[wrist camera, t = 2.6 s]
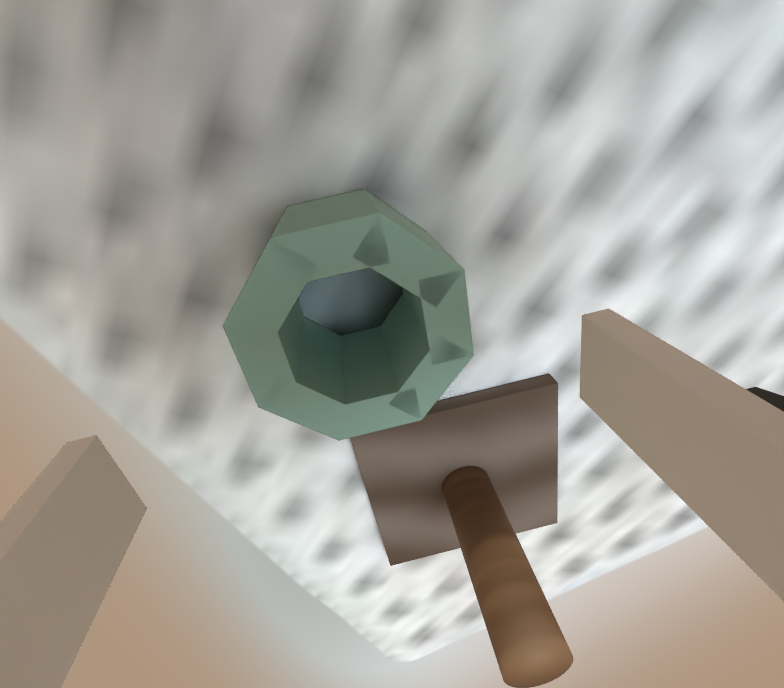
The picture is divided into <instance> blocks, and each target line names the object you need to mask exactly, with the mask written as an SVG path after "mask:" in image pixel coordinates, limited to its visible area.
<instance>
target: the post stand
mask: <svg viewBox="0 0 784 688" xmlns="http://www.w3.org/2000/svg"><path fill="white" fill-rule="evenodd" d="M350 440H351V443H352V446H353V449H354V452H355V455H356V459H357V462H358V465H359V468H360V471H361V474H362V477H363V481H364V484H365V487H366V490H367V493H368V496H369V500H370V503H371V506H372V509H373V512H374V515H375V518H376V522H377V525H378V528H379V531H380V534H381V537H382V541H383V544H384V547H385V550H386V553H387V556H388V559H389V563H390V566H392V565H396V564H399V563H403V562H407V561H411V560H415V559H419V558H423V557H427V556H430V555H434V554H438V553H442V552H446V551H450V550H454V549H458V548H461V550H462V553H463V556H464V559H465V562H466V565H467V568H468V571H469V575H470V578H471V581H472V584H473V587H474V590H475V593H476V596H477V599H478V602H479V606H480V609H481V612H482V615H483V618H484V621H485V624H486V627H487V630H488V634H489V637H490V640H491V643H492V646H493V649H494V652H495V655H496V658H497V661H498V664H499V668H500V671H501V674H502V676H503V680H504V682H505V683H506V684H507V685H509V686H512V687H516V688H529V687H535V686H539V685H542V684H545V683H548V682H550V681H552V680H554V679H556V678H558V677H559V676H561V675H562V674H564V673H565V672H566V671H567V670H568V669H569V668H570V666H571V665H572V662H573V655H572V653H571V651H570V649H569V647H568V645H567V642H566V640H565V638H564V636H563V634H562V632H561V630H560V628H559V625H558V623H557V621H556V619H555V617H554V615H553V613H552V610H551V608H550V606H549V604H548V602H547V600H546V598H545V596H544V593H543V591H542V589H541V587H540V585H539V583H538V581H537V579H536V576H535V574H534V572H533V570H532V568H531V566H530V564H529V561H528V559H527V557H526V555H525V553H524V551H523V549H522V547H521V544H520V542H519V540H518V538H517V536H516V533H520V532H524V531H527V530H531V529H535V528H539V527H543V526H547V525H551V524H555V523H557V479H558V383H557V382H556V380H555V379H554V378H553V377H552V376H551V375H550V374H547V375H543V376H539V377H535V378H530V379H526V380H522V381H518V382H514V383H510V384H506V385H502V386H498V387H494V388H490V389H486V390H481V391H477V392H473V393H469V394H465V395H461V396H457V397H453V398H449V399H445V400H441V401H437V402H436V403H435V404H434V405H433V406H432V408H431V409H430V410H429V411H428V413H427V414H426V415H425V416H424V418H423V419H422V420H420V421H416V422H412V423H408V424H404V425H399V426H395V427H391V428H387V429H383V430H379V431H375V432H371V433H367V434H363V435H359V436H355V437H351V438H350Z"/></svg>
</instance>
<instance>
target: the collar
mask: <svg viewBox="0 0 784 688" xmlns="http://www.w3.org/2000/svg"><path fill="white" fill-rule="evenodd" d="M365 268H372V269H373V270H375V271H377V272H378V273H380V274H382V275H383V276H385V277H387V278H388V279H390V280H391V281H393V282H395V283H396V284H398V285H400V286H401V287H402V291H403V294H402V296H401V297H400V298H399V300H398V301H397V303H396V304H395V306H394V307H393V308H392V310H391V311H390V313H389V314H388V316H387V317H386V319H385V320H384V321H383V323H382V324H381V326H379V327H375V328H371V329H366V330H362V331H358V332H354V333H350V334H345V335H341V336H340V335H338V334H337V333H335V332H333V331H331V330H329V329H327V328H325V327H323V326H321V325H319V324H317V323H315V322H313V321H312V320H310V319H308V318H306V317H304V315H303V312H302V309H301V306H300V303H299V300H298V297H299V295H300V293H301V292H302V290H303V288H304V287H305V285H306V283H307V282H310V281H314V280H318V279H322V278H327V277H331V276H335V275H340V274H344V273H348V272H353V271H357V270H361V269H365ZM223 327H224V330H225V332H226V334H227V337H228V339H229V341H230V343H231V346H232V348H233V350H234V353H235V355H236V357H237V359H238V362H239V364H240V366H241V369H242V371H243V373H244V375H245V378H246V380H247V382H248V385H249V387H250V389H251V391H252V394H253V396H254V398H255V401H256V403H257V405H258V407H259V408H261V409H264V410H266V411H269V412H271V413H273V414H276V415H278V416H281V417H283V418H286V419H288V420H290V421H293V422H295V423H298V424H300V425H302V426H305V427H307V428H310V429H312V430H315V431H317V432H319V433H322V434H324V435H327V436H329V437H332V438H334V439H336V440H343V439H347V438H351V437H355V436H359V435H363V434H367V433H371V432H375V431H379V430H383V429H387V428H391V427H395V426H399V425H404V424H408V423H412V422H416V421H420V420H422V419H423V418H424V416H425V415H426V414H427V413H428V411H429V410H430V409H431V408H432V406H433V405H434V404H435V403H436V401H437V400H438V399H439V398H440V397H441V395H442V394H443V393H444V392H445V390H446V389H447V388H448V387H449V385H450V384H451V383H452V382H453V380H454V379H455V378H456V377H457V375H458V374H459V373H460V372H461V371H462V369H463V368H464V367H465V366H466V364H467V363H468V362H469V361H470V359H471V358H472V357H473V356H474V353H473V344H472V335H471V326H470V317H469V308H468V299H467V290H466V281H465V272H464V269H463V268H462V267H461V266H460V265H459V264H458V263H457V262H456V261H455V260H454V259H453V258H452V257H451V256H450V255H449V254H448V253H447V252H446V251H445V250H444V249H443V248H442V247H441V246H440V245H439V244H438V243H437V242H436V241H435V240H434V239H433V238H432V237H431V236H430V235H429V234H428V233H427V232H426V231H425V230H423V229H422V228H421V227H419V226H418V225H416V224H415V223H413V222H412V221H410V220H409V219H407V218H406V217H404V216H403V215H402V214H400V213H399V212H397V211H396V210H394V209H393V208H391V207H390V206H388V205H387V204H386V203H384V202H383V201H381V200H380V199H378V198H377V197H375V196H374V195H372V194H371V193H369V192H368V191H367V190H365V189H362V190H357V191H353V192H348V193H344V194H339V195H335V196H331V197H326V198H322V199H317V200H313V201H308V202H304V203H300V204H295V205H291V206H287V208H286V210H285V212H284V214H283V215H282V217H281V219H280V221H279V223H278V225H277V227H276V228H275V230H274V232H273V234H272V236H271V238H270V240H269V241H268V243H267V245H266V247H265V249H264V251H263V253H262V254H261V256H260V258H259V260H258V262H257V264H256V266H255V267H254V269H253V271H252V273H251V275H250V277H249V278H248V280H247V282H246V284H245V286H244V288H243V290H242V291H241V293H240V295H239V297H238V299H237V301H236V303H235V304H234V306H233V308H232V310H231V312H230V314H229V315H228V317H227V319H226V321H225V323H224V325H223Z"/></svg>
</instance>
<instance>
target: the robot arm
mask: <svg viewBox="0 0 784 688" xmlns="http://www.w3.org/2000/svg"><path fill="white" fill-rule="evenodd" d="M580 398H581V399H582V400H583V401H584V402H585V403H586V404H587V405H588V406H589V407H590V408H591V409H592V410H593V411H594V412H595V413H596V414H597V415H598V416H599V417H600V418H601V419H602V420H603V421H604V422H605V423H606V424H607V425H608V426H609V427H610V428H611V429H612V430H613V431H614V432H615V433H616V434H617V435H618V436H619V437H620V438H621V439H622V440H623V441H624V442H625V443H626V444H627V445H628V446H629V447H630V448H631V449H632V450H633V451H634V452H635V453H636V454H637V455H638V456H639V457H640V458H641V459H642V460H643V461H644V462H645V463H646V464H647V465H648V466H649V467H650V468H651V469H652V470H653V471H654V472H655V473H656V474H657V475H658V476H659V477H660V478H661V479H662V480H663V481H664V482H665V483H666V484H667V485H668V486H669V487H670V488H671V489H672V490H673V491H674V492H675V493H676V494H677V495H678V496H679V497H680V498H681V499H682V500H683V501H684V502H685V503H686V504H687V505H688V506H689V507H690V508H691V509H692V510H693V511H694V512H695V513H696V514H697V515H698V516H699V517H700V518H701V519H702V520H703V521H704V522H705V523H706V524H707V525H708V526H709V527H710V528H711V529H712V530H713V531H714V532H715V533H716V534H717V535H718V536H719V537H720V538H721V539H722V540H723V541H724V542H725V543H726V544H727V545H728V546H729V547H730V548H731V549H732V550H733V551H734V552H735V553H736V554H737V555H738V556H739V557H740V558H741V559H742V560H743V561H744V562H745V563H746V564H747V565H748V566H749V567H750V568H751V569H752V570H753V571H754V572H755V573H756V574H757V575H758V576H759V577H760V578H761V579H762V580H763V581H764V582H765V583H766V584H767V585H768V586H769V587H770V588H771V589H772V590H773V591H774V592H775V593H776V594H777V595H778V596H779V597H780V598H781V599H782V600H783V601H784V396H781V395H779V394H776V393H773V392H770V391H767V390H764V389H761V388H758V387H753V388H749V389H744V388H743V387H741V386H739V385H737V384H736V383H734V382H732V381H731V380H729V379H727V378H726V377H724V376H722V375H721V374H719V373H717V372H715V371H714V370H712V369H710V368H709V367H707V366H705V365H704V364H702V363H700V362H698V361H697V360H695V359H693V358H692V357H690V356H688V355H687V354H685V353H683V352H682V351H680V350H678V349H676V348H675V347H673V346H671V345H670V344H668V343H666V342H665V341H663V340H661V339H659V338H658V337H656V336H654V335H653V334H651V333H649V332H648V331H646V330H644V329H643V328H641V327H639V326H637V325H636V324H634V323H632V322H631V321H629V320H627V319H626V318H624V317H622V316H621V315H619V314H617V313H615V312H614V311H612V310H610V309H605V310H601V311H597V312H593V313H589V314H585V315H582V332H581V369H580ZM146 508H147V507H146V506H145V505H144V503H143V502H142V500H141V499H140V497H139V496H138V494H137V493H136V492H135V490H134V489H133V487H132V486H131V484H130V483H129V482H128V480H127V478H126V477H125V476H124V474H123V473H122V471H121V470H120V468H119V467H118V465H117V464H116V463H115V461H114V460H113V458H112V457H111V455H110V454H109V452H108V451H107V450H106V448H105V447H104V445H103V444H102V442H101V441H100V440H99V438H98V437H97V436H91V437H88V438H83V439H79V440H75V441H72V442H67V443H66V444H65V445H64V446H63V448H62V449H61V450H60V451H59V452H58V454H57V455H56V456H55V457H54V458H53V459H52V460H51V462H50V463H49V464H48V465H47V466H46V468H45V469H44V470H43V471H42V472H41V473H40V475H39V476H38V477H37V478H36V479H35V481H34V482H33V483H32V484H31V485H30V487H29V488H28V489H27V490H26V491H25V492H24V493H23V495H22V496H21V497H20V498H19V499H18V501H17V502H16V503H15V504H14V505H13V506H12V508H11V509H10V510H9V511H8V512H7V513H6V515H5V516H4V517H3V518H2V519H1V521H0V688H61V686H62V684H63V682H64V680H65V678H66V676H67V674H68V672H69V670H70V667H71V666H72V664H73V661H74V659H75V657H76V655H77V653H78V651H79V649H80V647H81V645H82V643H83V640H84V638H85V636H86V634H87V632H88V630H89V628H90V626H91V624H92V622H93V620H94V618H95V615H96V613H97V611H98V609H99V607H100V605H101V603H102V601H103V599H104V597H105V594H106V592H107V590H108V588H109V586H110V584H111V582H112V580H113V578H114V576H115V574H116V572H117V570H118V567H119V565H120V563H121V561H122V559H123V557H124V555H125V553H126V551H127V549H128V547H129V545H130V542H131V540H132V538H133V536H134V534H135V532H136V530H137V528H138V526H139V524H140V522H141V520H142V517H143V515H144V513H145V511H146Z"/></svg>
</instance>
